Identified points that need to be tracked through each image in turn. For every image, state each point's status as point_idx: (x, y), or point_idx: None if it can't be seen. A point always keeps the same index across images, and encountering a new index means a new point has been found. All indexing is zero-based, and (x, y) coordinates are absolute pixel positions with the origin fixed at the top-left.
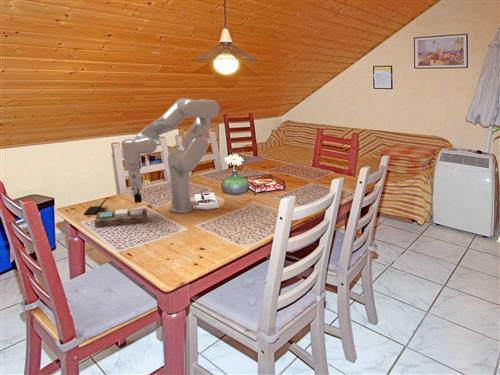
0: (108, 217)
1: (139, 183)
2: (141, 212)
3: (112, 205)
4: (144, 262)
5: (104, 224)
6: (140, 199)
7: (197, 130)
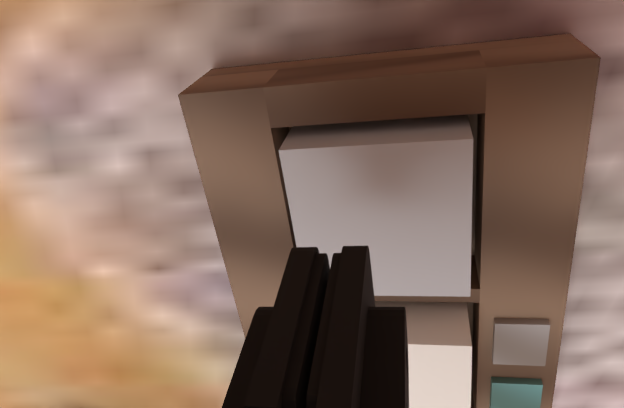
0: None
1: None
2: (423, 158)
3: (9, 385)
4: None
5: None
6: (365, 304)
7: None
